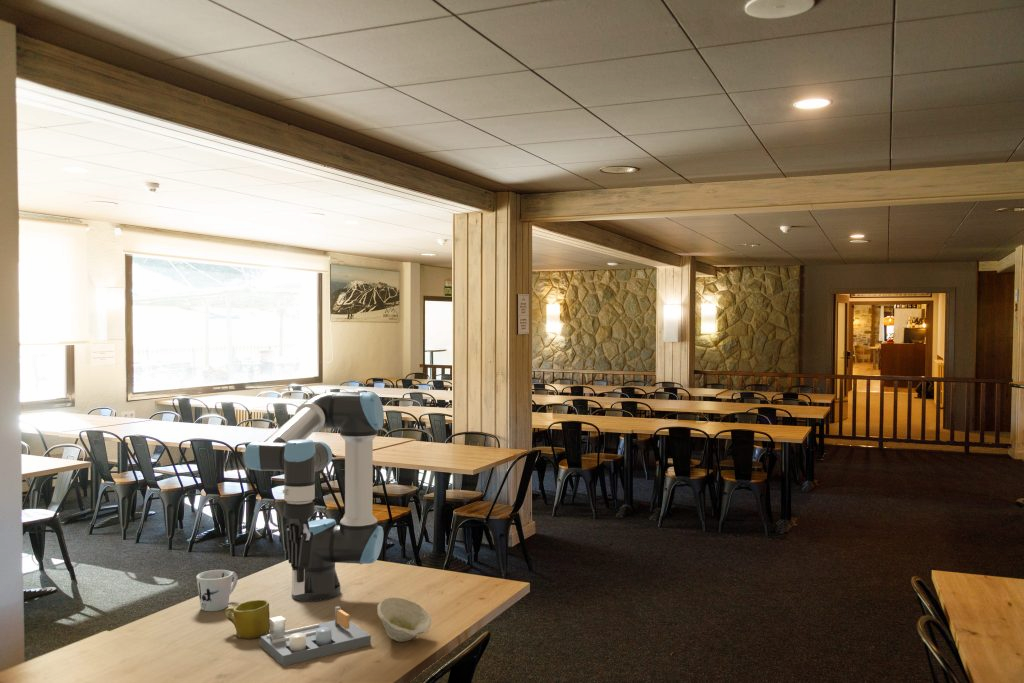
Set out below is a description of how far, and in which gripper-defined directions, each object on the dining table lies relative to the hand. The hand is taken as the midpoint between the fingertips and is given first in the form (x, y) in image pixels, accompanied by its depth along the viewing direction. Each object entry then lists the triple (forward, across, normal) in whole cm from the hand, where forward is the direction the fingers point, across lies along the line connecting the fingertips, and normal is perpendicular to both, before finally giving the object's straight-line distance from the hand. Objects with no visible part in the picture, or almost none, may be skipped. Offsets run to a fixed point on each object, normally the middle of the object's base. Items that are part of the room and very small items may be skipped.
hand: (298, 593), depth 201 cm
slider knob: (+14, -9, -2) cm, 16 cm away
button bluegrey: (+14, 0, +7) cm, 16 cm away
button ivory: (+14, 0, 0) cm, 14 cm away
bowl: (+17, +5, +28) cm, 33 cm away
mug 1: (+16, -52, -4) cm, 55 cm away
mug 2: (+17, -24, -5) cm, 30 cm away
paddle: (+14, -6, +15) cm, 21 cm away
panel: (+16, -5, +7) cm, 18 cm away
